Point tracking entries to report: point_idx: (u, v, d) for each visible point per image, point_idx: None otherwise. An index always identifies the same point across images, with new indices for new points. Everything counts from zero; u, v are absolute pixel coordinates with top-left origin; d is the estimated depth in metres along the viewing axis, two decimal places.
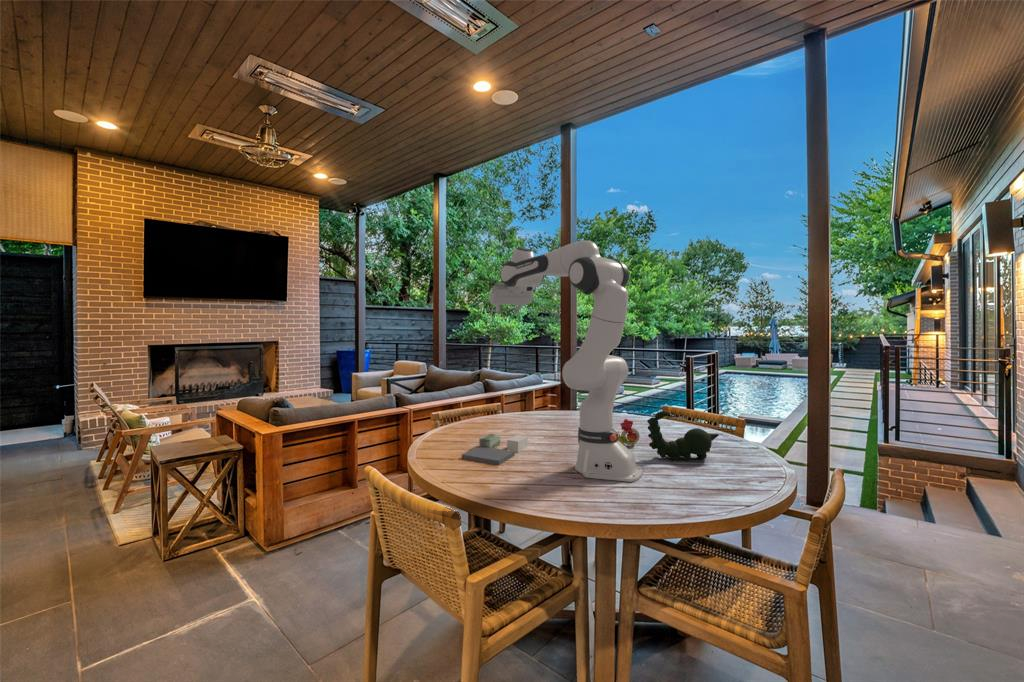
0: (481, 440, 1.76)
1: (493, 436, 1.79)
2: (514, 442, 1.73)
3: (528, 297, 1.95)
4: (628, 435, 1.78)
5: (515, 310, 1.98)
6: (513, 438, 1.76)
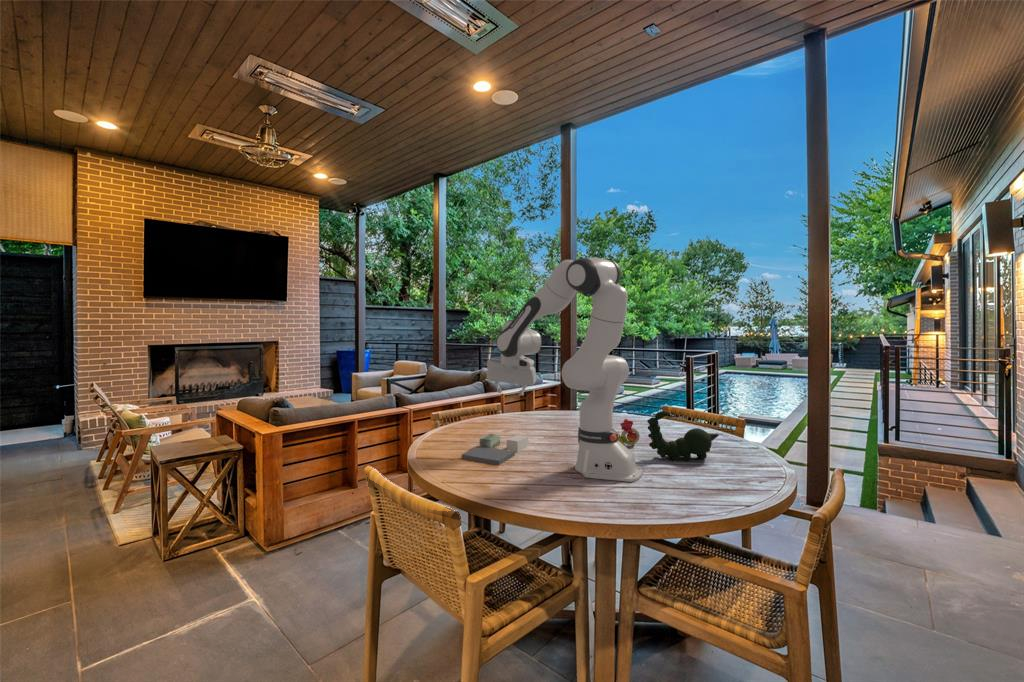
0: (481, 440, 1.76)
1: (493, 436, 1.80)
2: (513, 442, 1.73)
3: (528, 375, 1.74)
4: (628, 435, 1.78)
5: (519, 391, 1.78)
6: (513, 438, 1.76)
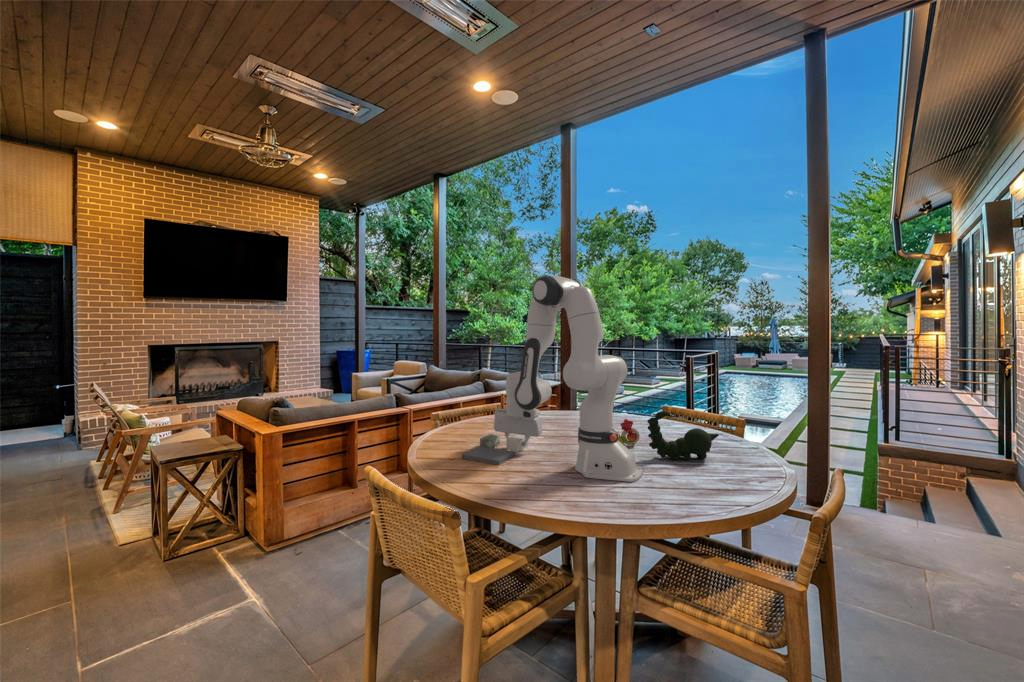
0: (482, 440, 1.76)
1: (493, 436, 1.80)
2: (513, 441, 1.73)
3: (533, 426, 1.71)
4: (628, 435, 1.78)
5: (522, 442, 1.75)
6: (513, 437, 1.76)
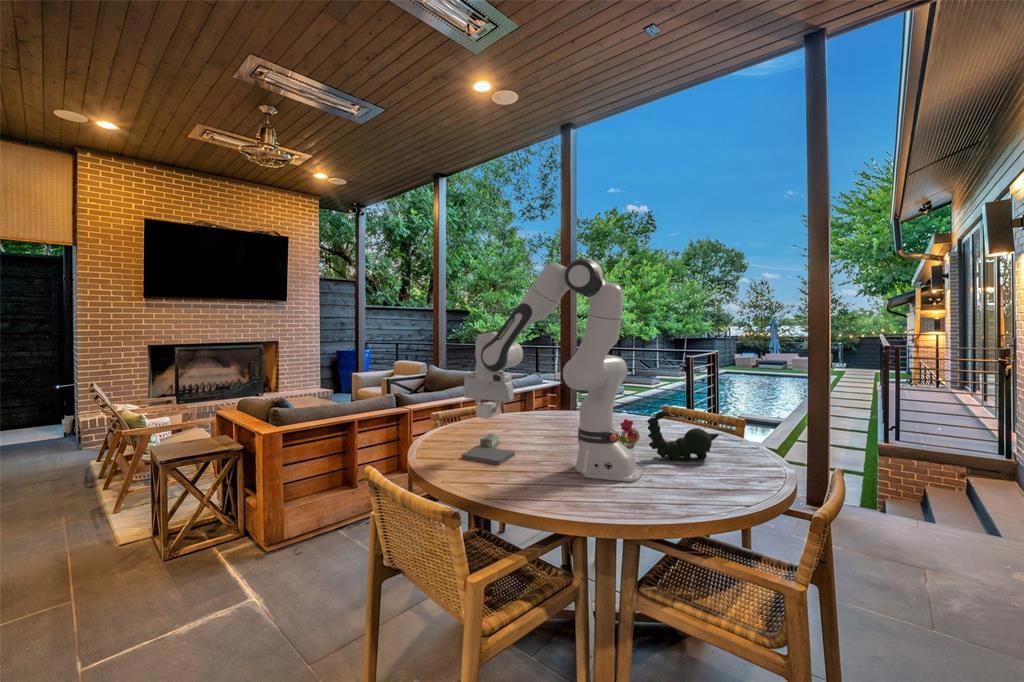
0: (482, 440, 1.76)
1: (493, 436, 1.80)
2: (482, 407, 1.62)
3: (503, 391, 1.60)
4: (628, 435, 1.78)
5: (493, 409, 1.64)
6: (483, 404, 1.66)
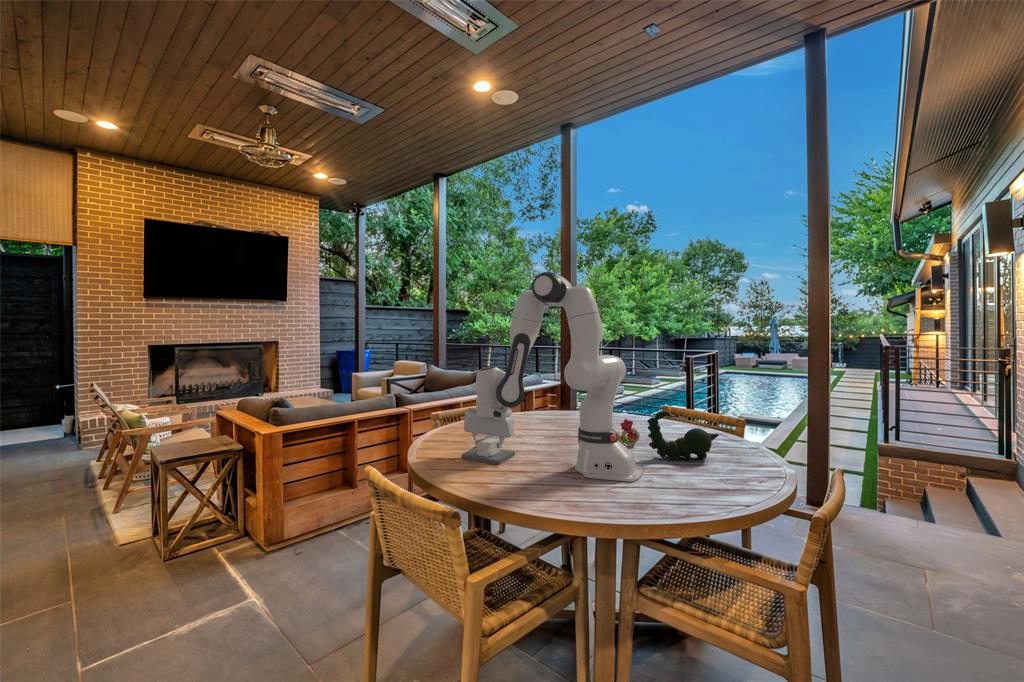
0: None
1: (493, 436, 1.80)
2: (483, 445, 1.63)
3: (504, 426, 1.61)
4: (628, 435, 1.78)
5: (497, 444, 1.64)
6: (484, 441, 1.66)
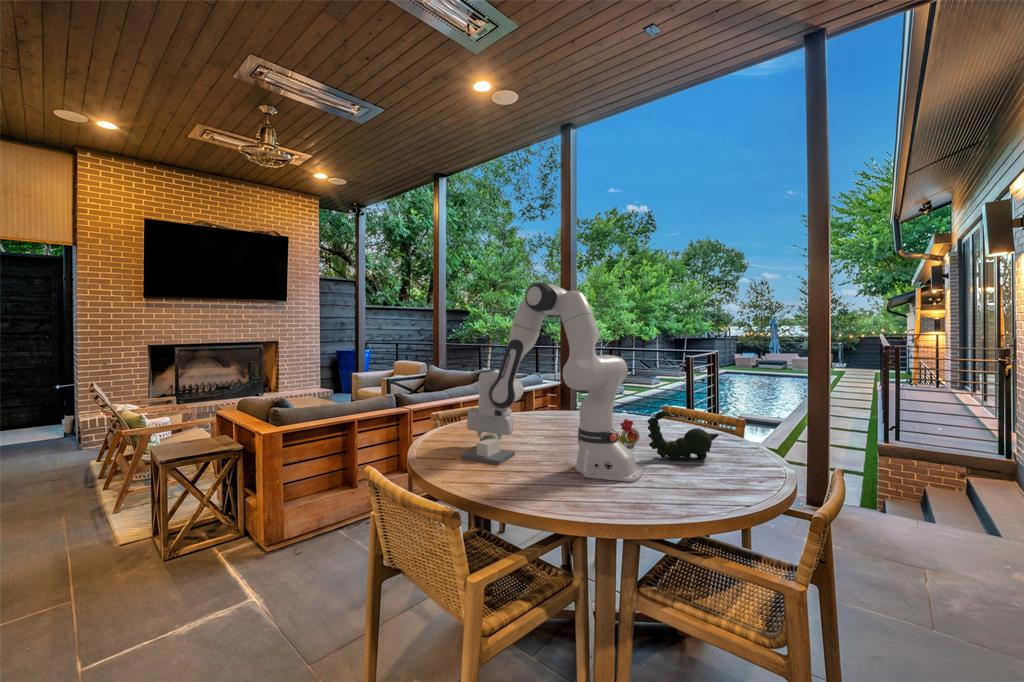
0: None
1: (493, 435, 1.80)
2: (483, 445, 1.63)
3: (504, 425, 1.74)
4: (628, 435, 1.78)
5: None
6: (484, 441, 1.66)
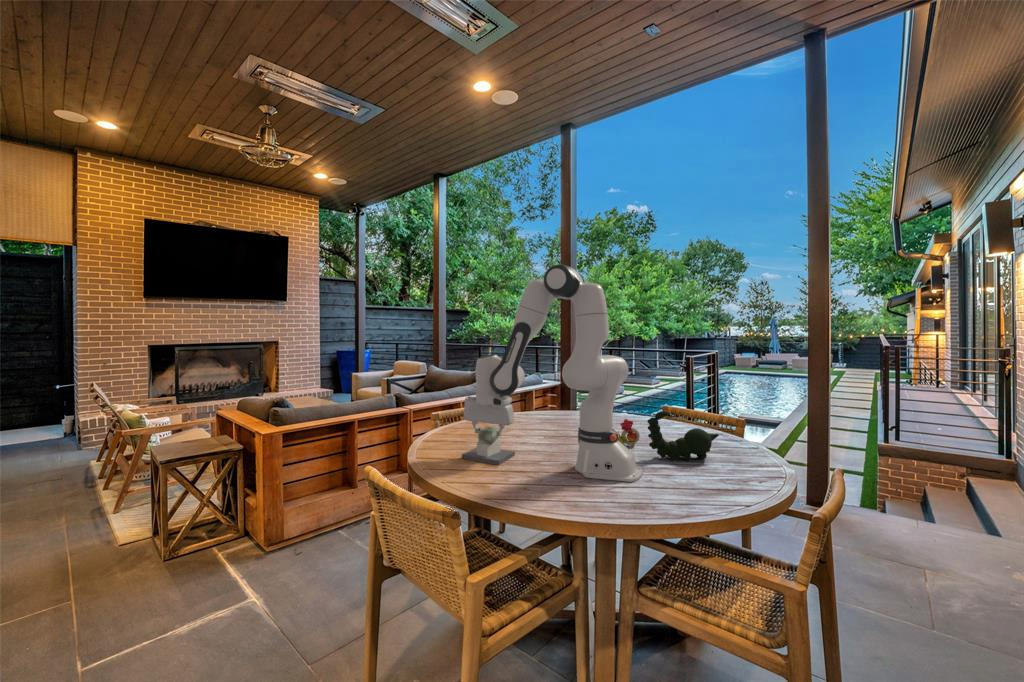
0: (480, 433, 1.63)
1: (492, 429, 1.67)
2: (483, 445, 1.63)
3: (503, 414, 1.61)
4: (628, 435, 1.78)
5: None
6: None
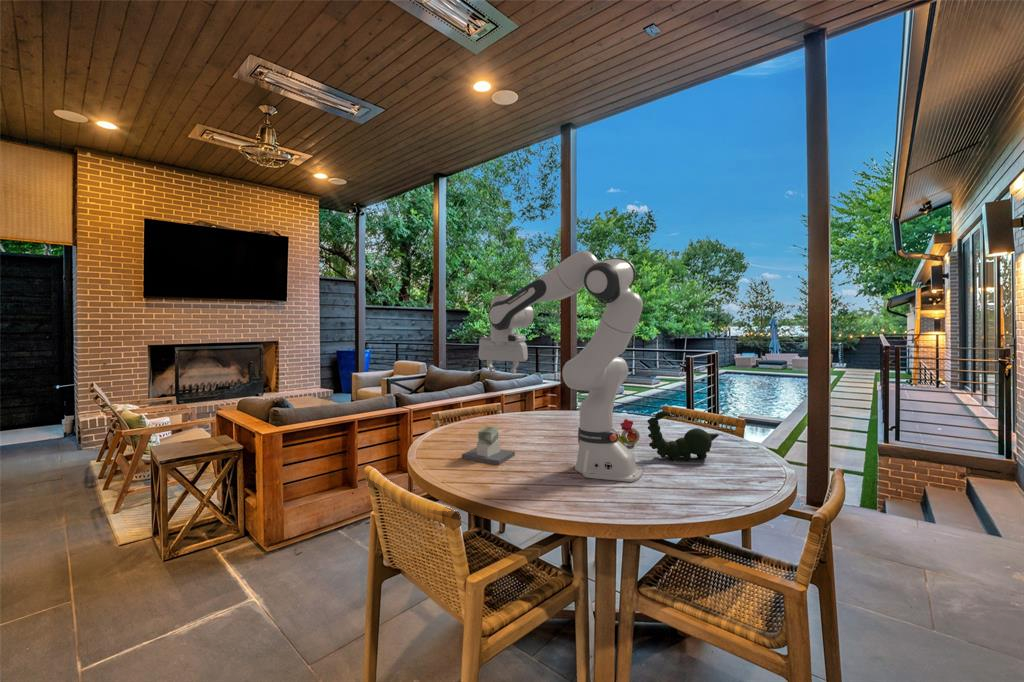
0: (480, 433, 1.63)
1: (492, 429, 1.67)
2: (483, 445, 1.63)
3: (518, 351, 1.66)
4: (628, 435, 1.78)
5: (511, 369, 1.69)
6: None
